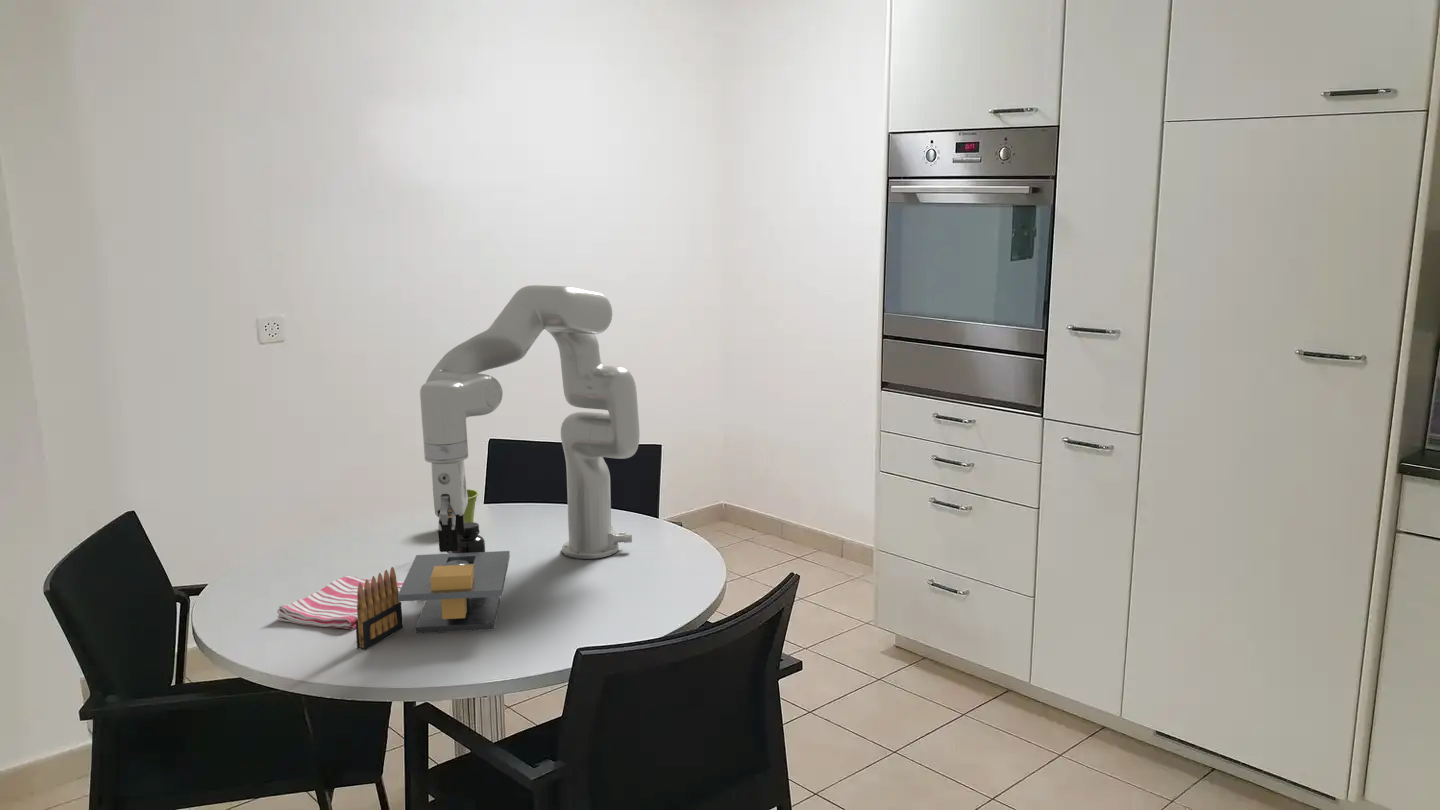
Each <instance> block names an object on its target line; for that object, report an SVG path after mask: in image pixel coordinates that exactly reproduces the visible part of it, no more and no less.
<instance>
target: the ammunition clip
mask: <svg viewBox="0 0 1440 810" xmlns="http://www.w3.org/2000/svg"><path fill="white" fill-rule="evenodd" d="M365 579H366V578H365ZM371 579H372V580H371V587H370V584H369V581H368V580H367V579H366V581H365V585H364V590H363V586H362V584H361V583H359V585H358V590H357V617H358V620H357V621H356V629H355V630H356V632H355V633H356V649H358V650H365V651H366V650H368V649H369V648H372V647H373V646H375V645H377V644H379V643H380V642H382V641H383V640H385V639H387V638H389V637H390V636H392V635H394V634H395V633H398V631H401V630H402V629H404V621H403V610H402V601H400V602H398V594H399V592H398V586H397V574H396V571H395V568H394V567H393V566H391V567H390V570H389V571H388V570H387V569H384V573H383V575H382V573H381V572H379V573H378V575H377V579H376V577H375V576H374V575H373V576H372V577H371ZM376 580H377V582H376Z"/></svg>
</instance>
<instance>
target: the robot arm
mask: <svg viewBox="0 0 1440 810" xmlns="http://www.w3.org/2000/svg"><path fill="white" fill-rule="evenodd" d="M612 318H613V307H612V304H611V302H610V300H609V298H607V297H606V296H605V295H604V294H603V293H600V292H596V291H591V290H586V289H581V288H578V287H577V288H576V287H572V286H567V285H566V286H564V285H540V284H539V285H537V284H534V285H526V286H524V287H521V288H519V289H518V290H517V291H516V292H515V293H514V294H513V296H512V297H511V298H510V299H509V302H507V304H506V305H505V306H504V308H503V309H502V311H501V312H500V313H499V314H498V315H497V317H496V318H495V319H494V321H493V322H492V324H491V325H490V326H489V327H488V328H487V329H486V330H484V331H482V332H480V333H477V334H476V335H474V336H473V337H470V338H469V339H467V340H465V341H463V342H462V343H461V342H460V343H459V344H458V345H456V346H455V347H453V348H452V349H450V350H449V351H448V352H446V354H444V355H443V357H442V358H440V360H439V361H438V363H437V364H436V365H435V366H434V367H433V369H432V370H431V372H430V373H429V375H428V377H427V378H426V382H424V383H423V385H421V387H420V391H419V394H420V395H419V397H420V411H421V426H422V427H421V428H422V439H423V453H424V461H425V462H427V463H431V464H430V465H431V479H432V480H431V482H432V484H431V485H432V497H433V505H434V507H433V509H434V515H435V517H437V518H438V530H437V533H438V550H439V552H440V553H447V552H453V551H458V535H457V534H462V533H464V520H463V514H464V512H465V510H466V507H467V504H468V495H467V489H468V487H467V486H468V485H467V477H466V475H467V474H466V467H465V460H466V459H469V448H468V447H469V446H468V432H467V418H470V417H479V416H485V415H489V414H491V413H493V412H494V411H496V410H497V408H498V407H499V406H500V404H501V403H502V399H503V387H502V384H501V383H500V382H499V380H497V379H496V377H493V376H491V375H489V374H484V373H482V372H485V371H488V370H493V369H498V368H500V367H504V366H507V365H511V364H514V363H516V362H518V361H520V360H521V359H523V358H524V357H525V356H526V355H527V353H528V351H529V350H530V349H531V347H532V346H533V344H534V343H535V341H536V340H537V338H538V337H539V336H540V335H541V333H542V332H543V331H544V330H545V331H546V332H548V333H549V334H550V335H551V336H552V337H553V339H554V341H555V342H556V345H557V347H558V351H559V359H560V366H561V367H560V368H561V369H560V370H561V379H562V388H563V394H564V398H565V401H566V402H567V403H568V404H569V405H570V406H572V407H575V408H578V409H579V408H581V409H590V410H600V411H601V410H602V411H603V410H604V411H608V413H603V412H594V411H579V412H573V413H571V414H569V415H568V416H566V417H565V418H564V419H563V421H562V424H561V427H560V439H561V440H560V441H561V445H562V449H563V452H564V453H563V454H564V459H565V466H566V469H565V470H566V489H567V490H566V491H567V522H568V523H567V525H568V526H567V527H568V541H566V542H565V543H564V544H563V545H562V547H561V552H562V553H563V554H564V556H567V557H569V558H574V559H580V560H582V559H583V560H590V559H592V560H593V559H594V560H595V559H601V558H605V557H609V556H613V555H614V554H616V553H617V552H618V551H619V546H620V545H619V544H620V543H623V544H626V543H628V544H629V543H630V544H631V543H633V534H632V533H626V532H627V531H623V532H622V531H620V532H616V531H614V529H613V526H612V510H611V509H612V507H611V506H612V504H611V503H612V500H611V474H610V470H609V467H608V464H607V463H606V461H605V459H604V458H607V459H608V458H610V459H622V460H623V459H624V460H625V459H630V458H631V457H633V456H634V455H636V452H637V451H638V448H639V445H640V422H639V421H640V420H639V419H640V417H639V407H638V406H639V405H638V395H637V385H636V381H635V378H634V376H633V375H632V373H631V372H630V371H629V370H628V369H626V368H624V367H622V366H614V365H604V364H603V363H602V361H601V352H600V345H599V341H598V338H597V335H599V334H601V333H602V334H603V333H604V332H605V331H607V329H609V327H610V324H611V323H612V320H613V319H612Z"/></svg>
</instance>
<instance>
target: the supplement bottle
mask: <svg viewBox="0 0 1440 810" xmlns="http://www.w3.org/2000/svg"><path fill="white" fill-rule="evenodd" d="M479 534H480V524H479V523H477V522H474V521H473V522H465V523H464V533H462V534H457V535H458V551H453V552H451V553H473V552H486V543H485V542H486V541H485V538H484V537H483V536H482V535H479ZM451 553H450V554H451ZM468 563H469V564H473V563H474V562H468Z"/></svg>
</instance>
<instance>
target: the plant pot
mask: <svg viewBox="0 0 1440 810" xmlns="http://www.w3.org/2000/svg"><path fill="white" fill-rule="evenodd" d="M467 495H468V504H467V507H466V510H465V512H464V514H463V520H464V523H465V522H474V517H475V508H476V502H477V497H478V496H479V492H478V491H477V490H475V489H471V488H470V489H469V488H467Z"/></svg>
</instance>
